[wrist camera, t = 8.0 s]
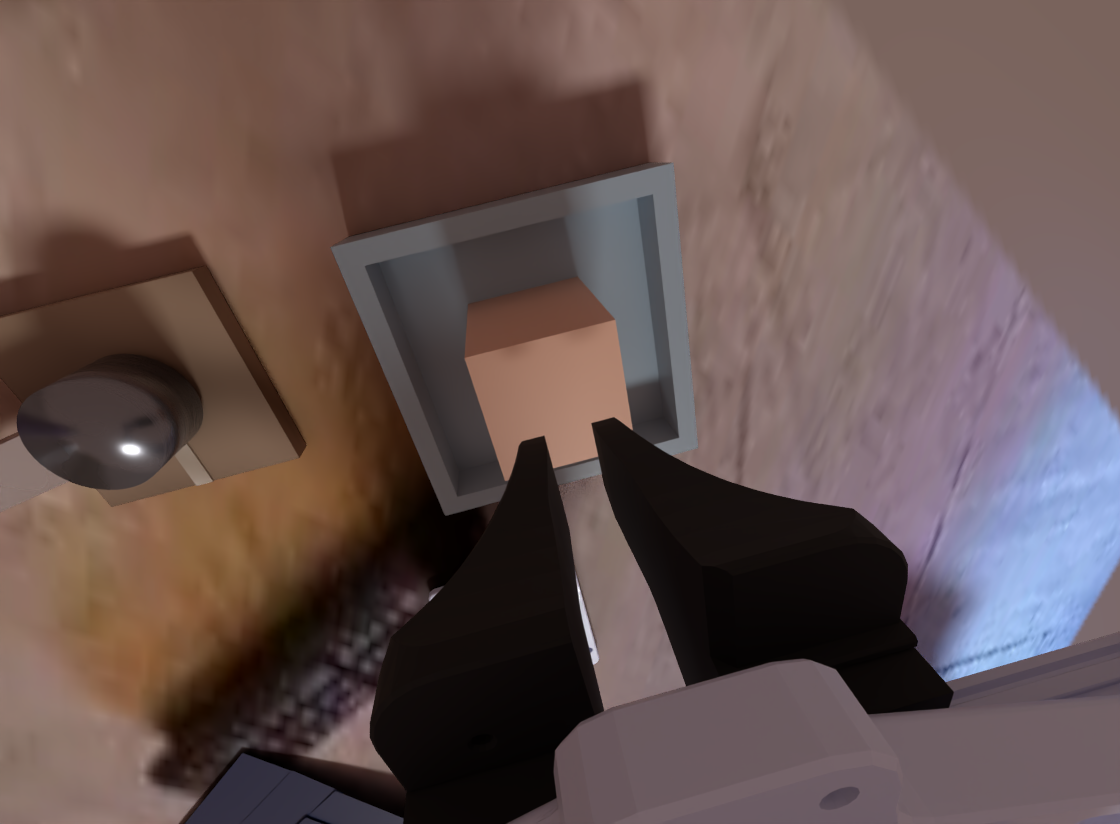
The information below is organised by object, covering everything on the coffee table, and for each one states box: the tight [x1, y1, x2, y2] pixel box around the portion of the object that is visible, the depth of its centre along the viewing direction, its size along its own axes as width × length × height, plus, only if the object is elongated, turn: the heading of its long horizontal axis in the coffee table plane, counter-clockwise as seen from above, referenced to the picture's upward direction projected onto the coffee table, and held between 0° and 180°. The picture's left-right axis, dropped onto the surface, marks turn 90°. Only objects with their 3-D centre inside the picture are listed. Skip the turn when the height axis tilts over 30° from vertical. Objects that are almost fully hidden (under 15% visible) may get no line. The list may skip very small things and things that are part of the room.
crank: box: [0, 354, 203, 512], centre depth 17 cm, size 12×4×4 cm, turn 112°
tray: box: [330, 163, 698, 516], centre depth 20 cm, size 12×12×2 cm
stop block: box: [465, 277, 633, 481], centre depth 18 cm, size 4×4×6 cm
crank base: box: [0, 266, 306, 507], centre depth 19 cm, size 8×8×1 cm
